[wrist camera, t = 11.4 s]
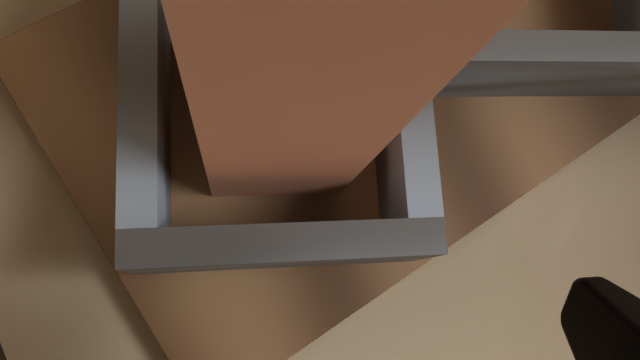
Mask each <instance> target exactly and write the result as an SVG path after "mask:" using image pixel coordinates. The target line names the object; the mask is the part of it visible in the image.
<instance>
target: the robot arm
mask: <svg viewBox="0 0 640 360" xmlns="http://www.w3.org/2000/svg"><path fill="white" fill-rule="evenodd" d="M561 324H562V328H563V330H564V333H565V335H566V338H567V340H568V343H569V345H570V348H571V350H572V353H573V355H574V357H575V360H640V299H639V298H638V297H636V296H634V295H633V294H631V293H629V292H627V291H626V290H624V289H622V288H620V287H619V286H617V285H615V284H614V283H612V282H610V281H608V280H607V279H605V278H602V277H584V278H578V279H576V280H575V281H574V282H573V284H572V286H571V289H570V291H569V294H568V296H567V299H566V301H565V304H564V306H563V309H562V312H561ZM0 360H6V357H5V354H4V352H3V349H2V346H1V344H0Z"/></svg>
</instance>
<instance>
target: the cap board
mask: <svg viewBox="0 0 640 360" xmlns="http://www.w3.org/2000/svg"><path fill="white" fill-rule="evenodd" d="M0 78H1V80H2V81H3V83H4V85H5V86H6V88H7V90H8V91H9V93H10V95H11V96H12V98H13V100H14V102H15V103H16V105H17V107H18V108H19V110H20V112H21V113H22V115H23V117H24V118H25V120H26V122H27V123H28V125H29V127H30V128H31V130H32V132H33V133H34V135H35V137H36V138H37V140H38V142H39V143H40V145H41V147H42V148H43V150H44V152H45V153H46V155H47V157H48V159H49V160H50V162H51V164H52V165H53V167H54V169H55V170H56V172H57V174H58V175H59V177H60V179H61V180H62V182H63V184H64V185H65V187H66V189H67V190H68V192H69V194H70V195H71V197H72V199H73V200H74V202H75V204H76V205H77V207H78V209H79V210H80V212H81V214H82V216H83V217H84V219H85V221H86V222H87V224H88V226H89V227H90V229H91V231H92V232H93V234H94V236H95V237H96V239H97V241H98V242H99V244H100V246H101V247H102V249H103V251H104V252H105V254H106V256H107V257H108V259H109V261H110V262H111V264H112V266H113V267H114V269H115V271H116V273H117V274H118V276H119V278H120V279H121V281H122V283H123V284H124V286H125V288H126V289H127V291H128V293H129V294H130V296H131V298H132V299H133V301H134V303H135V304H136V306H137V308H138V309H139V311H140V313H141V314H142V316H143V318H144V319H145V321H146V323H147V324H148V326H149V328H150V330H151V331H152V333H153V335H154V336H155V338H156V340H157V341H158V343H159V345H160V346H161V348H162V350H163V351H164V353H165V355H166V356H167V358H168V360H286V359H288V358H289V357H291V356H292V355H294V354H295V353H297V352H298V351H299V350H301V349H302V348H304V347H305V346H307V345H308V344H310V343H311V342H312V341H314V340H315V339H317V338H318V337H320V336H321V335H322V334H324V333H325V332H327V331H328V330H330V329H331V328H333V327H334V326H335V325H337V324H338V323H340V322H341V321H343V320H344V319H345V318H347V317H348V316H350V315H351V314H353V313H354V312H356V311H357V310H358V309H360V308H361V307H363V306H364V305H366V304H367V303H368V302H370V301H371V300H373V299H374V298H376V297H377V296H379V295H380V294H381V293H383V292H384V291H386V290H387V289H389V288H390V287H392V286H393V285H394V284H396V283H397V282H399V281H400V280H402V279H403V278H404V277H406V276H407V275H409V274H410V273H412V272H413V271H415V270H416V269H417V268H419V267H420V266H422V265H423V264H425V263H426V262H427V261H429V260H430V259H432V258H433V257H436V256H441V255H446V254H448V250H447V248H448V247H449V246H451V245H452V244H453V243H455V242H456V241H458V240H459V239H461V238H462V237H463V236H465V235H466V234H468V233H469V232H471V231H472V230H474V229H475V228H476V227H478V226H479V225H481V224H482V223H484V222H485V221H486V220H488V219H489V218H491V217H492V216H494V215H495V214H497V213H498V212H499V211H501V210H502V209H504V208H505V207H507V206H508V205H509V204H511V203H512V202H514V201H515V200H517V199H518V198H520V197H521V196H522V195H524V194H525V193H527V192H528V191H530V190H531V189H533V188H534V187H535V186H537V185H538V184H540V183H541V182H543V181H544V180H545V179H547V178H548V177H550V176H551V175H553V174H554V173H556V172H557V171H558V170H560V169H561V168H563V167H564V166H566V165H567V164H568V163H570V162H571V161H573V160H574V159H576V158H577V157H579V156H580V155H581V154H583V153H584V152H586V151H587V150H589V149H590V148H591V147H593V146H594V145H596V144H597V143H599V142H600V141H602V140H603V139H604V138H606V137H607V136H609V135H610V134H612V133H613V132H615V131H616V130H617V129H619V128H620V127H622V126H623V125H625V124H626V123H627V122H629V121H630V120H632V119H633V118H635V117H636V116H638V115H639V114H640V0H530V1H529V2H528V3H527V4H526V5H525V6H524V7H523V8H522V9H521V10H520V11H519V12H518V13H517V14H516V15H515V16H514V17H513V18H512V19H511V20H510V21H509V22H508V23H507V24H506V25H505V26H504V27H503V28H502V29H501V30H500V31H499V32H498V33H497V34H496V35H495V36H494V37H493V38H492V39H491V40H490V41H489V42H488V43H487V44H486V45H485V46H484V47H483V48H482V49H481V50H480V51H479V52H478V53H477V54H476V55H475V56H474V57H473V58H472V59H471V60H470V61H469V62H468V63H467V64H466V66H465V67H464V68H463V69H462V70H461V71H460V72H459V73H458V74H457V75H456V76H455V77H454V78H453V79H452V80H451V81H450V82H449V83H448V84H447V85H446V86H445V87H444V88H443V89H442V90H441V91H440V92H439V93H438V94H437V95H436V96H435V97H434V98H433V99H432V100H431V101H430V102H429V103H428V104H427V105H426V106H425V107H424V108H423V109H422V110H421V111H420V112H419V113H418V114H417V115H416V116H415V117H414V118H413V119H412V120H411V121H410V122H409V123H408V124H407V125H406V126H405V127H404V128H403V129H402V131H401V132H400V133H399V134H398V135H397V136H396V137H395V138H394V139H393V140H392V141H391V142H390V143H389V144H388V145H387V146H386V147H385V148H384V149H383V150H382V151H381V152H380V153H379V154H378V155H377V156H376V157H375V158H374V159H373V160H372V161H371V162H370V163H369V164H368V165H367V166H366V167H365V168H364V169H363V170H362V171H361V172H360V173H359V174H358V175H357V176H356V177H355V178H354V179H353V180H352V181H351V182H350V183H349V184H348V185H347V186H346V187H345V188H344V189H343V190H342V191H341V192H340V193H339V194H301V195H256V196H212V194H211V190H210V186H209V183H208V179H207V175H206V171H205V167H204V163H203V160H202V156H201V152H200V148H199V144H198V140H197V137H196V133H195V129H194V125H193V121H192V118H191V114H190V110H189V106H188V102H187V98H186V95H185V91H184V87H183V83H182V79H181V76H180V72H179V68H178V64H177V60H176V56H175V53H174V49H173V45H172V41H171V37H170V33H169V30H168V26H167V22H166V18H165V14H164V11H163V7H162V3H161V0H83V1H81V2H79V3H77V4H74V5H72V6H70V7H68V8H66V9H64V10H62V11H60V12H58V13H55V14H53V15H51V16H49V17H47V18H45V19H43V20H41V21H39V22H36V23H34V24H32V25H30V26H28V27H26V28H24V29H22V30H20V31H17V32H15V33H13V34H11V35H9V36H7V37H5V38H3V39H1V40H0Z"/></svg>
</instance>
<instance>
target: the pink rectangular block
mask: <svg viewBox="0 0 640 360" xmlns="http://www.w3.org/2000/svg"><path fill="white" fill-rule="evenodd" d="M529 1H530V0H161V3H162V7H163V11H164V14H165V18H166V22H167V26H168V30H169V33H170V37H171V41H172V45H173V49H174V53H175V56H176V60H177V64H178V68H179V72H180V76H181V79H182V83H183V87H184V91H185V95H186V98H187V102H188V106H189V110H190V114H191V118H192V121H193V125H194V129H195V133H196V137H197V140H198V144H199V148H200V152H201V156H202V160H203V163H204V167H205V171H206V175H207V179H208V183H209V186H210V190H211V194H212V196H256V195H301V194H339V193H340V192H341V191H342V190H343V189H344V188H345V187H346V186H347V185H348V184H349V183H350V182H351V181H352V180H353V179H354V178H355V177H356V176H357V175H358V174H359V173H360V172H361V171H362V170H363V169H364V168H365V167H366V166H367V165H368V164H369V163H370V162H371V161H372V160H373V159H374V158H375V157H376V156H377V155H378V154H379V153H380V152H381V151H382V150H383V149H384V148H385V147H386V146H387V145H388V144H389V143H390V142H391V141H392V140H393V139H394V138H395V137H396V136H397V135H398V134H399V133H400V132H401V131H402V129H403V128H404V127H405V126H406V125H407V124H408V123H409V122H410V121H411V120H412V119H413V118H414V117H415V116H416V115H417V114H418V113H419V112H420V111H421V110H422V109H423V108H424V107H425V106H426V105H427V104H428V103H429V102H430V101H431V100H432V99H433V98H434V97H435V96H436V95H437V94H438V93H439V92H440V91H441V90H442V89H443V88H444V87H445V86H446V85H447V84H448V83H449V82H450V81H451V80H452V79H453V78H454V77H455V76H456V75H457V74H458V73H459V72H460V71H461V70H462V69H463V68H464V67H465V66H466V64H467V63H468V62H469V61H470V60H471V59H472V58H473V57H474V56H475V55H476V54H477V53H478V52H479V51H480V50H481V49H482V48H483V47H484V46H485V45H486V44H487V43H488V42H489V41H490V40H491V39H492V38H493V37H494V36H495V35H496V34H497V33H498V32H499V31H500V30H501V29H502V28H503V27H504V26H505V25H506V24H507V23H508V22H509V21H510V20H511V19H512V18H513V17H514V16H515V15H516V14H517V13H518V12H519V11H520V10H521V9H522V8H523V7H524V6H525V5H526V4H527V3H528V2H529Z"/></svg>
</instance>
